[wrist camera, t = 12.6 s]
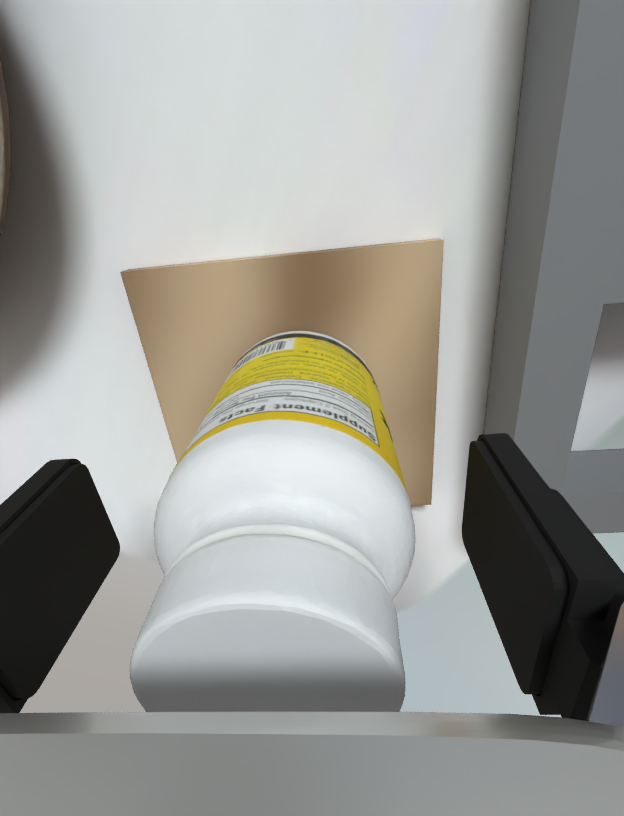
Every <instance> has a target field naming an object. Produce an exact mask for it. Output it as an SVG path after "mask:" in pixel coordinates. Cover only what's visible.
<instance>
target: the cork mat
mask: <svg viewBox="0 0 624 816" xmlns="http://www.w3.org/2000/svg"><path fill="white" fill-rule="evenodd" d="M442 262H443V240H442V239H429V240H419V241H409V242H399V243H389V244H379V245H369V246H359V247H349V248H339V249H329V250H319V251H309V252H299V253H289V254H279V255H269V256H258V257H248V258H238V259H228V260H218V261H208V262H198V263H188V264H178V265H168V266H158V267H148V268H138V269H129V270H125V271H122V272H120V273H121V276H122V279H123V283H124V286H125V289H126V293H127V296H128V300H129V303H130V306H131V310H132V313H133V316H134V320H135V323H136V326H137V330H138V333H139V336H140V340H141V343H142V346H143V350H144V353H145V357H146V360H147V363H148V367H149V370H150V373H151V377H152V380H153V383H154V387H155V390H156V393H157V397H158V400H159V403H160V407H161V410H162V413H163V417H164V420H165V424H166V427H167V430H168V434H169V437H170V440H171V444H172V447H173V450H174V454H175V457H176V460H177V463H178V462H179V460H180V458H181V457H182V455H183V453H184V451H185V450H186V448H187V446H188V445H189V443H190V441H191V440H192V438H193V436H194V434H195V433H196V431H197V429H198V427H199V426H200V424H201V422H202V421H203V419H204V418H205V416H206V414H207V412H208V410H209V408H210V407H211V405H212V403H213V402H214V400H215V398H216V396H217V394H218V393H219V391H220V389H221V388H222V386H223V384H224V382H225V380H226V379H227V377H228V375H229V374H230V372H231V371H232V369H233V367H234V366H235V364H236V363H237V361H238V360H239V359H240V358H241V357H242V355H243V354H244V353H245V352H246V351H248V350H249V349H250V348H251V347H252V346H254V345H255V344H257V343H258V342H260V341H262V340H264V339H265V338H268V337H270V336H273V335H276V334H280V333H284V332H289V331H310V332H316V333H320V334H324V335H327V336H330V337H333V338H335V339H337V340H339V341H341V342H342V343H344V344H345V345H347V346H348V347H350V348H351V349H352V350H353V351H355V352H356V353H357V354H358V355H359V356H360V357H361V358H362V360H363V361H364V362H365V363H366V365H367V366H368V368H369V370H370V371H371V373H372V375H373V377H374V380H375V383H376V385H377V388H378V391H379V394H380V398H381V401H382V405H383V409H384V412H385V416H386V419H387V422H388V426H389V430H390V433H391V436H392V440H393V444H394V448H395V451H396V455H397V458H398V462H399V465H400V469H401V472H402V476H403V479H404V482H405V486H406V489H407V493H408V496H409V499H410V504H411V505H431V498H432V477H433V455H434V434H435V412H436V391H437V369H438V348H439V326H440V305H441V283H442Z"/></svg>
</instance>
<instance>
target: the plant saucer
mask: <svg viewBox="0 0 624 816" xmlns="http://www.w3.org/2000/svg"><path fill="white" fill-rule="evenodd" d="M10 173H11V137H10V123H9V109H8V102H7V95H6V89H5V83H4V77H3V70H2V64H1V60H0V234H1V231H2V227H3V223H4V219H5V214H6V210H7V201H8V193H9V188H10Z"/></svg>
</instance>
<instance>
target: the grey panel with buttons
mask: <svg viewBox="0 0 624 816" xmlns="http://www.w3.org/2000/svg"><path fill="white" fill-rule="evenodd" d="M614 303H624V0H531V5H530V14H529V24H528V33H527V42H526V51H525V60H524V69H523V78H522V87H521V96H520V105H519V115H518V124H517V133H516V142H515V151H514V160H513V169H512V178H511V187H510V196H509V206H508V215H507V224H506V233H505V242H504V251H503V260H502V269H501V278H500V287H499V297H498V306H497V315H496V324H495V333H494V342H493V351H492V360H491V369H490V378H489V388H488V397H487V406H486V415H485V424H484V433H483V434H497V433H507V434H508V435H509V436H510V437H511V438H512V440H513V441H514V442H515V443H516V445H517V446H518V447H519V449H520V450H521V451H522V453H523V454H524V455H525V457H526V458H527V459H528V460H529V462H530V463H531V464H532V466H533V467H534V468H535V470H536V471H537V472H538V473H539V475H540V476H541V477H542V479H543V480H544V481H545V483H546V484H547V485H548V486H549V488H550V489H551V488H552V489H555V490H557V491H558V492H559V493H560V494H561V495H562V496H563V497H564V498H565V500H566V501H567V502H568V503H569V505H570V506H571V507H572V509H573V510H574V511H575V512H576V514H577V515H578V516H579V517H580V519H581V520H582V521H583V522H584V524H585V525H586V526H587V528H588V529H589V530H590V531H591V533H613V532H624V449H607V450H589V451H571V447H572V442H573V438H574V433H575V429H576V425H577V420H578V416H579V412H580V407H581V403H582V398H583V394H584V390H585V385H586V381H587V376H588V372H589V368H590V363H591V359H592V354H593V350H594V346H595V341H596V337H597V333H598V328H599V324H600V319H601V315H602V311H603V306H604V304H614ZM570 451H571V452H570Z"/></svg>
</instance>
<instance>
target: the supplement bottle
mask: <svg viewBox="0 0 624 816" xmlns="http://www.w3.org/2000/svg"><path fill="white" fill-rule="evenodd" d="M154 541H155V549H156V554H157V557H158V560H159V564H160V566H161V569H162V571H163V573H164V575H165V576H164V579H163V581H162V583H161V585H160V587H159V589H158V591H157V593H156V596H155V598H154V600H153V603H152V605H151V608H150V610H149V612H148V615H147V617H146V620H145V622H144V625H143V627H142V629H141V631H140V634H139V636H138V639H137V641H136V643H135V646H134V648H133V652H132V656H131V661H130V679H131V683H132V686H133V690H134V693H135V695H136V697H137V699H138V701H139V702H140V703H141V705H142V706H143V708H144V709H145V711H146V712H399V711H400V709H401V707H402V704H403V700H404V697H405V672H404V666H403V660H402V654H401V648H400V641H399V632H398V621H397V614H396V610H395V607H394V603H393V601H392V599H393V598H394V597H395V596H396V594H397V593H398V591H399V590H400V588H401V587H402V585H403V583H404V581H405V580H406V578H407V576H408V573H409V570H410V567H411V563H412V560H413V556H414V550H415V526H414V520H413V515H412V509H411V504H410V499H409V496H408V493H407V489H406V486H405V482H404V479H403V476H402V472H401V469H400V465H399V462H398V458H397V455H396V451H395V448H394V444H393V440H392V436H391V433H390V430H389V426H388V422H387V419H386V416H385V412H384V409H383V405H382V401H381V398H380V394H379V391H378V388H377V385H376V383H375V380H374V377H373V375H372V373H371V371H370V370H369V368H368V366H367V365H366V363H365V362H364V361H363V360H362V358H361V357H360V356H359V355H358V354H357V353H356V352H355V351H353V350H352V349H351V348H350V347H348V346H347V345H345V344H344V343H342V342H341V341H339V340H337V339H335V338H333V337H330V336H327V335H324V334H320V333H316V332H310V331H289V332H284V333H280V334H276V335H273V336H270V337H268V338H265V339H264V340H262V341H260V342H258V343H257V344H255V345H254V346H252V347H251V348H250V349H249V350H248V351H246V352H245V353H244V354H243V355H242V357H241V358H240V359H239V360H238V361H237V363H236V364H235V366H234V367H233V369H232V371H231V372H230V374H229V375H228V377H227V379H226V380H225V382H224V384H223V386H222V388H221V389H220V391H219V393H218V394H217V396H216V398H215V400H214V402H213V403H212V405H211V407H210V408H209V410H208V412H207V414H206V416H205V418H204V419H203V421H202V422H201V424H200V426H199V427H198V429H197V431H196V433H195V434H194V436H193V438H192V440H191V441H190V443H189V445H188V446H187V448H186V450H185V451H184V453H183V455H182V457H181V458H180V460H179V462H178V463H177V465H176V467H175V468H174V470H173V472H172V474H171V475H170V478H169V480H168V482H167V484H166V486H165V488H164V490H163V493H162V495H161V498H160V500H159V503H158V506H157V510H156V515H155V522H154Z"/></svg>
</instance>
